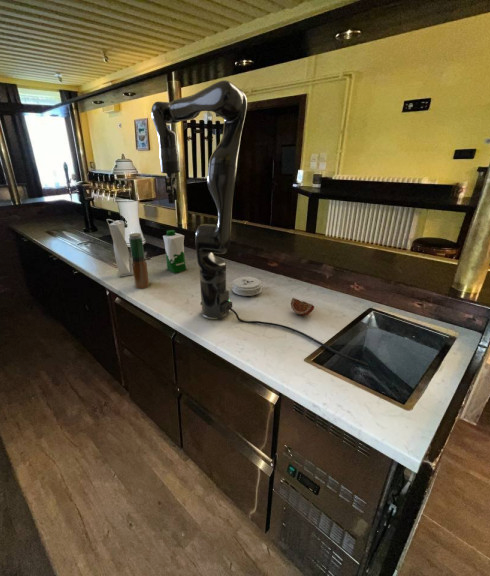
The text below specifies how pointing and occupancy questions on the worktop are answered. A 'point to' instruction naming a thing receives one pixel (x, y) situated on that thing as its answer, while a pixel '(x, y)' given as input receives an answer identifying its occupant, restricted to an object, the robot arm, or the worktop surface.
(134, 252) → the green bottle
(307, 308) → the fruit slice
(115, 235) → the white paper bag
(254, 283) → the lid
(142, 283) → the amber bottle
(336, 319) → the worktop surface
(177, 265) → the milk carton
